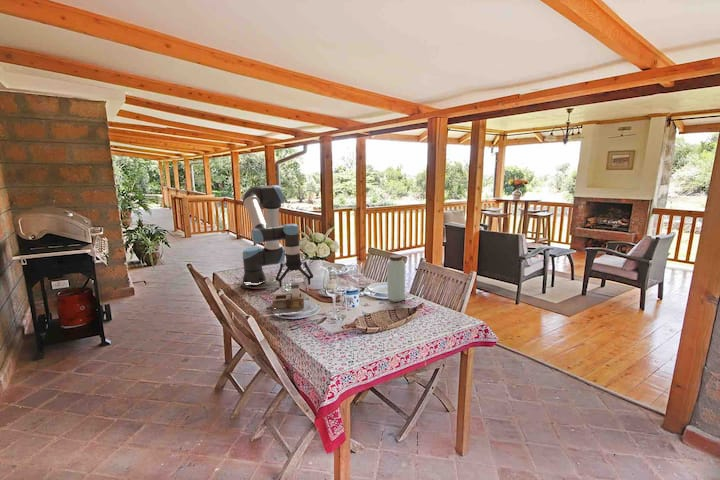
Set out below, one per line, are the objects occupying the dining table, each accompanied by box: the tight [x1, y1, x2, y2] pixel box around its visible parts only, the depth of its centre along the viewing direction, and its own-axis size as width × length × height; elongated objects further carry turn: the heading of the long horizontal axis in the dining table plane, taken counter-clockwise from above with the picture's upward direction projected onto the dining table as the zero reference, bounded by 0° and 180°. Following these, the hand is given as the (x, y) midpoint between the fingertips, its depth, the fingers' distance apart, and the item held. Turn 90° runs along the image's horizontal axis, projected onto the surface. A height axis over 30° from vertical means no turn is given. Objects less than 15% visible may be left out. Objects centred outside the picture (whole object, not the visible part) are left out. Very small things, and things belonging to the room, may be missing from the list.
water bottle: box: [386, 254, 406, 303], centre depth 198 cm, size 10×10×25 cm
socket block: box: [272, 291, 305, 310], centre depth 193 cm, size 10×16×6 cm, turn 99°
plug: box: [290, 281, 301, 298], centre depth 193 cm, size 4×4×12 cm
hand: (295, 291), depth 192 cm, fingers open, 13 cm apart
